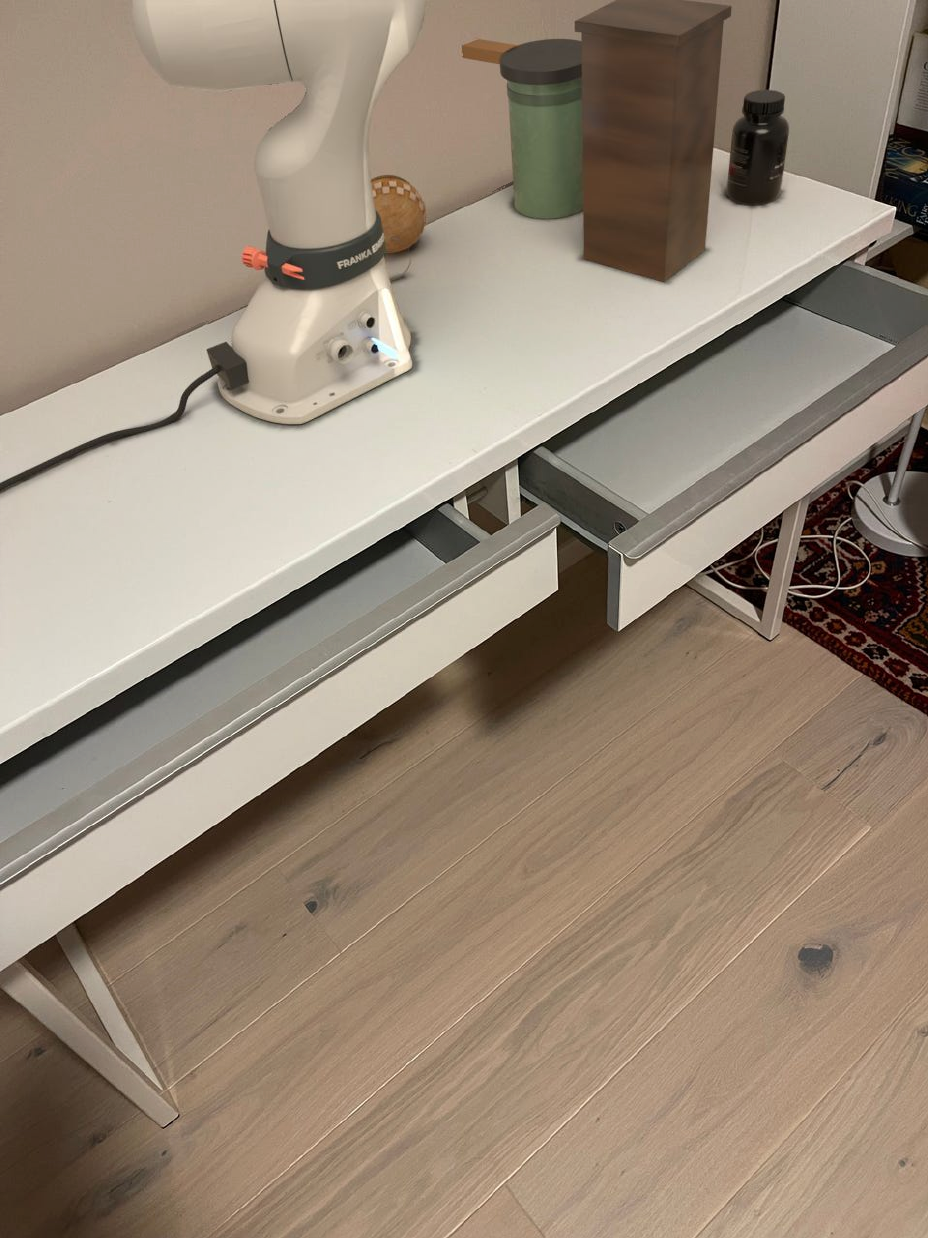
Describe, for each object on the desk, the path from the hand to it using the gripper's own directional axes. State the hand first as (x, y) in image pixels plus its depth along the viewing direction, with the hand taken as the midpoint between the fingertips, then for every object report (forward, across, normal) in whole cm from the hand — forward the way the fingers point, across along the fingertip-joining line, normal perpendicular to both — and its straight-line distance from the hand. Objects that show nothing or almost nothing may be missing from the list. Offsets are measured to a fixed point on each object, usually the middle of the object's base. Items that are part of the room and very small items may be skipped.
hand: (423, 17), depth 129 cm
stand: (+24, -6, +37) cm, 44 cm away
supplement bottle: (+26, +14, +38) cm, 49 cm away
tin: (+8, 0, +27) cm, 28 cm away
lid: (+12, 0, +11) cm, 16 cm away
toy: (+7, -28, +24) cm, 37 cm away
